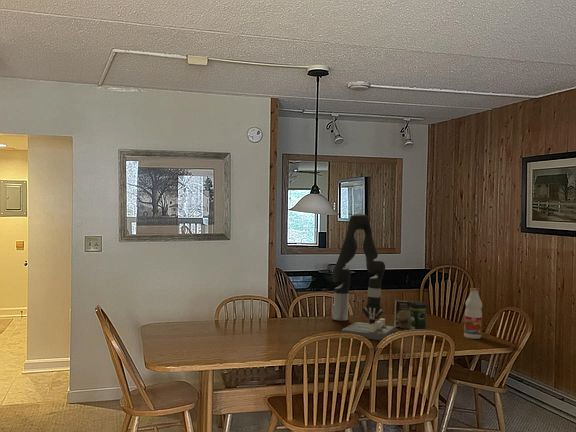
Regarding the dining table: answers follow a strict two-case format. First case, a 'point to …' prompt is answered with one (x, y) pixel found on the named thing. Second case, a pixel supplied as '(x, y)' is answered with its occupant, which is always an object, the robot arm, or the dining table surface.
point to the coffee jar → (417, 315)
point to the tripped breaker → (378, 325)
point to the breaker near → (372, 327)
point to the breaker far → (382, 322)
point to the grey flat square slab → (364, 330)
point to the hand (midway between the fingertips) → (372, 325)
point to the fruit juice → (473, 315)
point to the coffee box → (402, 313)
